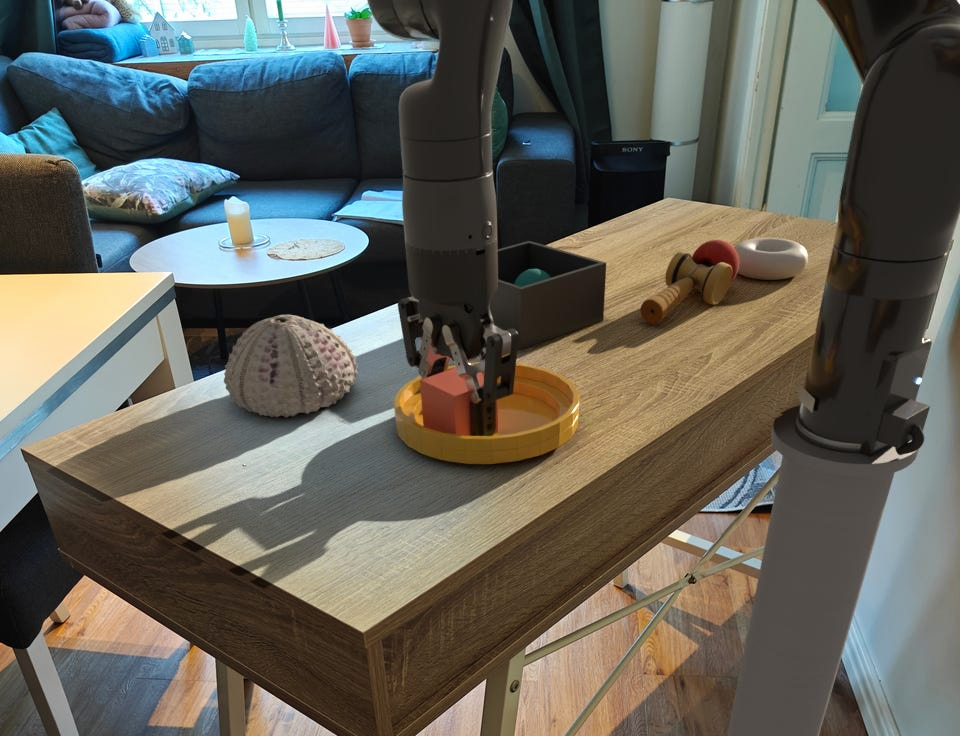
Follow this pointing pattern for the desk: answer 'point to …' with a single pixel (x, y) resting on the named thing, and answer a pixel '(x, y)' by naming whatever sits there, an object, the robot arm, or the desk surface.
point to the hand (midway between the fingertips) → (460, 425)
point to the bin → (547, 293)
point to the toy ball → (531, 277)
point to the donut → (770, 258)
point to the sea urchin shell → (289, 367)
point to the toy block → (448, 403)
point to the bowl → (499, 421)
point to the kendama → (694, 278)
